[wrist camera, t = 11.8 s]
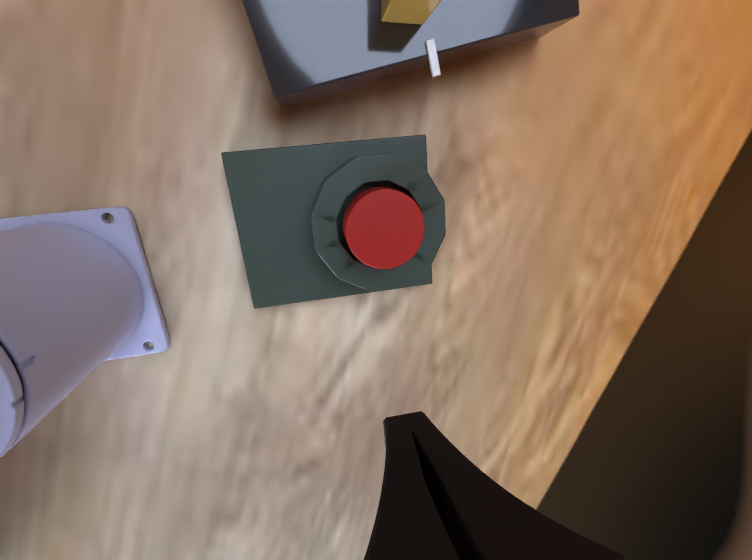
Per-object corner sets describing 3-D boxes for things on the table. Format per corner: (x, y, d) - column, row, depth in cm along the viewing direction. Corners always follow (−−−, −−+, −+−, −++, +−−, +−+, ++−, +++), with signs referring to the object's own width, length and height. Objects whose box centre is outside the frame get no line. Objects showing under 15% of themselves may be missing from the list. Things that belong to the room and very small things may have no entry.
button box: (257, 301, 21) (248, 322, 18) (226, 153, 18) (210, 151, 15) (430, 277, 22) (447, 293, 19) (424, 135, 20) (442, 130, 17)
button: (347, 264, 18) (350, 274, 17) (338, 190, 17) (341, 193, 15) (416, 255, 19) (426, 263, 17) (412, 183, 18) (423, 184, 16)
